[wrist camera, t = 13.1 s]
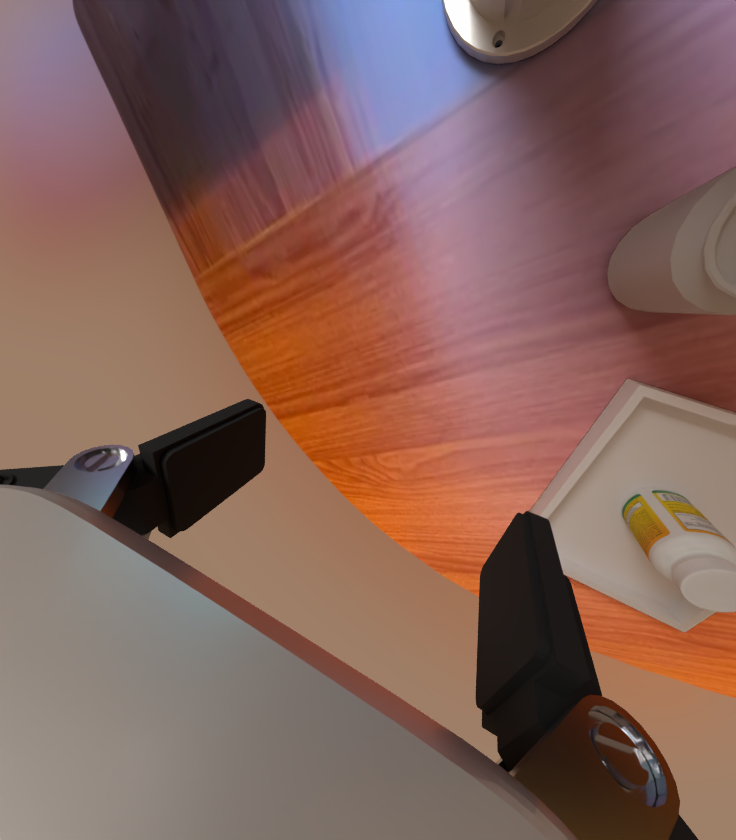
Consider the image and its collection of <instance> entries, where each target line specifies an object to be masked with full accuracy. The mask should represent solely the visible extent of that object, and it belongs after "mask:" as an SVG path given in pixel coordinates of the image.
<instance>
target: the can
mask: <svg viewBox="0 0 736 840" xmlns="http://www.w3.org/2000/svg"><path fill="white" fill-rule="evenodd" d="M607 278H608V285H609V289H610V291H611V292H612V294H613V295H614V297H615V299H616V300H617V301H618V302H620V303H622V304H623V305H625V306H626V307H628V308H630V309H634V310H639V311H643V312H660V313H683V314H707V315H736V166H735V167H733V168H732V169H730V170H728V171H726V172H725V173H723V174H721V175H719V176H717V177H716V178H714V179H712V180H710V181H709V182H707V183H705V184H703V185H701V186H700V187H698V188H696V189H694V190H693V191H691V192H689V193H687V194H685V195H684V196H682V197H680V198H678V199H676V200H675V201H673V202H671V203H669V204H668V205H666V206H664V207H662V208H660V209H659V210H657V211H655V212H653V213H652V214H650V215H649V216H647V217H646V218H645V219H643V220H642V221H640V222H639V223H638V224H636V225H635V226H633V227H632V229H631V230H630V231H629V232H628V233H627V234H626V235H625V236H624V237H623V238H622V240H621V241H620V242H619V243H618V245H617V247H616V249H615V251H614V253H613V254H612V256H611V258H610V262H609V267H608V272H607Z"/></svg>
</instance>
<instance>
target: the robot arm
mask: <svg viewBox="0 0 736 840" xmlns="http://www.w3.org/2000/svg"><path fill="white" fill-rule="evenodd" d="M596 2H597V0H442V3H443V8H444V14H445V17H446V20H447V23H448V26H449V28H450V31H451V33H452V34H453V36H454V38H455V39H456V41H457V43H458V44H459V45H460V46H461V47H462V48H463V49H464V50H465V51H466V52H467V53H468V54H469V55H470V56H472V57H474V58H476V59H478V60H480V61H482V62H488V63H494V64H503V63H512V62H516V61H519V60H522V59H525V58H528V57H531V56H533V55H535V54H537V53H538V52H540V51H542V50H544V49H545V48H547V47H549V46H551V45H552V44H553V43H555V42H556V41H557V40H558V39H560V38H561V37H562V36H563V35H565V34H566V33H567V32H569V31H570V30H571V29H572V28H573V27H574V26H575V25H576V24H577V23H578V22H579V21H580V20H581V19H582V18H583V17H584V16H585V15H586V14H587V13H588V12H589V11H590V9H591V8H592V7H593V5H594V4H595V3H596ZM498 45H501V46H500V47H498V48H496V47H497V46H498ZM265 430H266V411H265V410H264V407H263V405H262V404H260V403H257V402H255V401H252V400H250V399H246V400H243V401H241V402H239V403H236V404H234V405H232V406H229V407H227V408H225V409H222V410H220V411H218V412H215V413H213V414H211V415H208V416H206V417H204V418H201V419H199V420H197V421H194V422H192V423H190V424H187V425H185V426H182V427H180V428H178V429H176V430H173V431H171V432H168V433H166V434H164V435H161V436H159V437H157V438H154V439H152V440H150V441H147V442H145V443H143V444H140V445H138V446H139V450H140V454H138V455H136V456H134V453H133V450H132V449H130V448H129V447H126V446H121V445H104V446H99V447H94V448H91V449H88V450H85V451H82V452H80V453H78V454H76V455H75V456H73V457H72V458H71V459H70V460H69V461H68V462H67V463H66V464H65V465H62V466H48V467H34V468H20V469H6V470H0V840H698V839H697V837H696V836H695V835H694V833H693V832H692V831H691V829H690V828H689V827H688V826H687V825H686V823H685V822H684V820H683V819H682V818H681V817H680V815H679V806H680V800H679V795H678V790H677V786H676V782H675V780H674V778H673V775H672V773H671V771H670V768H669V766H668V764H667V762H666V760H665V759H664V757H663V755H662V754H661V752H660V750H659V749H658V747H657V745H656V744H655V742H654V741H653V740H652V739H651V737H650V736H649V735H648V734H647V732H646V731H645V730H644V728H643V727H642V726H641V725H640V724H639V723H638V722H637V721H636V720H635V719H634V718H633V717H632V716H631V715H630V714H629V713H628V712H627V711H626V710H624V709H623V708H622V707H620V706H619V705H617V704H616V703H615V702H613V701H611V700H609V699H607V698H605V697H602V693H601V690H600V686H599V682H598V679H597V675H596V672H595V668H594V664H593V661H592V657H591V654H590V650H589V647H588V643H587V639H586V636H585V632H584V629H583V625H582V622H581V618H580V614H579V611H578V607H577V604H576V600H575V596H574V593H573V589H572V586H571V583H570V581H569V579H568V578H567V577H566V576H565V575H564V574H563V570H562V566H561V563H560V559H559V555H558V551H557V547H556V544H555V540H554V536H553V532H552V528H551V525H550V522H549V520H548V519H546V518H544V517H541V516H539V515H536V514H534V513H531V512H529V511H526V512H525V513H524V514H521V513H517V514H516V516H515V517H514V519H513V520H512V522H511V523H510V525H509V527H508V528H507V530H506V531H505V533H504V534H503V536H502V538H501V539H500V541H499V542H498V544H497V545H496V547H495V548H494V550H493V552H492V553H491V555H490V556H489V558H488V559H487V561H486V563H485V564H484V566H483V568H482V571H481V575H480V593H479V622H478V648H477V676H476V705H477V707H478V708H480V709H481V710H482V727H483V728H484V729H486V730H488V731H489V732H491V733H492V734H494V735H496V736H497V737H498V738H497V742H498V753H499V755H500V756H501V758H500V759H499V760H498V761H497V762H496V763H495V762H493V761H492V760H491V759H489V758H488V757H487V756H485V755H484V754H482V753H481V752H480V751H478V750H477V749H476V748H474V747H473V746H471V745H470V744H468V743H467V742H466V741H464V740H463V739H462V738H460V737H458V736H457V735H456V734H454V733H453V732H451V731H449V730H448V729H446V728H445V727H443V726H442V725H440V724H439V723H437V722H436V721H434V720H433V719H431V718H430V717H428V716H427V715H425V714H424V713H422V712H421V711H419V710H417V709H416V708H415V707H413V706H411V705H410V704H408V703H407V702H405V701H404V700H402V699H401V698H399V697H398V696H396V695H395V694H393V693H392V692H390V691H388V690H387V689H385V688H384V687H382V686H381V685H379V684H378V683H376V682H374V681H373V680H371V679H370V678H368V677H367V676H365V675H363V674H362V673H360V672H358V671H357V670H355V669H354V668H352V667H351V666H349V665H348V664H346V663H344V662H343V661H341V660H339V659H338V658H336V657H335V656H333V655H332V654H330V653H329V652H327V651H325V650H324V649H322V648H321V647H319V646H318V645H316V644H314V643H313V642H311V641H310V640H308V639H306V638H305V637H303V636H302V635H300V634H298V633H297V632H295V631H294V630H292V629H291V628H289V627H287V626H286V625H284V624H283V623H281V622H279V621H278V620H276V619H275V618H273V617H271V616H270V615H268V614H266V613H265V612H263V611H262V610H260V609H259V608H257V607H255V606H254V605H252V604H251V603H249V602H247V601H246V600H244V599H243V598H241V597H239V596H238V595H236V594H235V593H233V592H231V591H230V590H228V589H227V588H225V587H223V586H221V585H220V584H219V583H217V582H215V581H214V580H212V579H211V578H209V577H207V576H206V575H204V574H202V573H201V572H199V571H198V570H196V569H194V568H193V567H191V566H190V565H188V564H186V563H185V562H183V561H182V560H180V559H178V558H177V557H175V556H173V555H172V554H170V553H168V552H167V551H165V550H164V549H162V548H160V547H159V546H157V545H156V544H154V543H152V542H151V541H149V540H148V539H149V536H150V533H151V531H152V530H153V529H154V528H155V527H157V526H158V530H159V531H160V532H161V533H163V534H165V535H166V536H168V537H169V538H171V537H173V536H174V535H176V534H177V533H178V532H180V531H184V530H186V529H188V528H189V527H191V526H192V525H193V524H194V523H196V522H197V521H198V520H200V519H201V518H202V517H203V516H204V515H206V514H207V513H209V512H210V511H211V510H212V509H214V508H215V507H216V506H217V505H219V504H220V503H222V502H223V501H224V500H225V499H227V498H228V497H229V496H231V495H232V494H233V493H234V492H236V491H237V490H238V489H239V488H241V487H242V486H244V485H245V484H246V483H247V482H249V481H250V480H251V479H253V478H254V477H255V476H256V475H258V474H259V473H260V472H261V471H262V470H263V468H264V465H265V433H266V431H265Z"/></svg>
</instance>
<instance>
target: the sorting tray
mask: <svg viewBox="0 0 736 840" xmlns="http://www.w3.org/2000/svg"><path fill="white" fill-rule="evenodd" d="M645 488H665V489H669V490H673V491H675V492H677V493H679V494H681V495H683V496H684V497H685V498H686V499H688V500H689V501H690V502H691V503H692V504H693V505H694V506H695V507H696V508H697V509H698V510H699V511H700V512H701V513H702V514H703V515H704V516H705V517H706V518H707V519H708V520H709V521H710V522H711V523H712V524H713V525H714V526H715V527H716V528H717V529H718V530H719V531H720V532H721V533H722V534H723V535H724V536H725V537H726V538H727V539H728V540H729V541H730V542H731V543H732V544H733V545H734V546H735V547H736V412H733V411H730V410H727V409H723V408H720V407H717V406H714V405H711V404H708V403H704V402H701V401H698V400H695V399H692V398H689V397H685V396H682V395H679V394H676V393H673V392H670V391H666V390H663V389H660V388H657V387H654V386H651V385H647V384H644V383H641V382H638V381H635V380H632V379H628V378H627V379H626V381H625V382H624V384H623V385H622V386H621V388H620V389H619V390H618V392H617V393H616V394H615V396H614V397H613V399H612V400H611V401H610V403H609V404H608V405H607V407H606V408H605V409H604V411H603V412H602V413H601V415H600V416H599V418H598V419H597V420H596V422H595V423H594V424H593V426H592V427H591V428H590V430H589V431H588V433H587V434H586V435H585V437H584V438H583V439H582V441H581V442H580V443H579V445H578V446H577V447H576V449H575V450H574V452H573V453H572V454H571V456H570V457H569V458H568V460H567V461H566V462H565V464H564V465H563V466H562V468H561V469H560V471H559V472H558V473H557V475H556V476H555V477H554V479H553V480H552V481H551V483H550V484H549V486H548V487H547V488H546V490H545V491H544V492H543V494H542V495H541V496H540V498H539V499H538V500H537V502H536V503H535V505H534V506H533V507H532V509H531V510H530V511H529V512H531V513H534V514H536V515H539V516H541V517H544V518H546V519H548V520H549V522H550V525H551V528H552V532H553V536H554V540H555V544H556V547H557V551H558V555H559V559H560V563H561V566H562V570H563V574H564V575H566V576H568V577H570V578H572V579H574V580H577V581H579V582H581V583H583V584H585V585H587V586H589V587H591V588H593V589H595V590H597V591H599V592H601V593H603V594H606V595H608V596H610V597H612V598H614V599H616V600H618V601H620V602H622V603H624V604H626V605H628V606H630V607H632V608H634V609H637V610H639V611H641V612H643V613H645V614H647V615H649V616H651V617H653V618H655V619H657V620H659V621H661V622H663V623H665V624H668V625H670V626H672V627H674V628H676V629H678V630H680V631H682V632H684V633H685V632H686V631H688V630H690V629H691V628H693V627H694V626H696V625H697V624H699V623H700V622H702V621H703V620H705V619H706V618H708V617H710V616H711V615H713V614H714V613H716V612H715V611H709V610H705V609H702V608H700V607H697V606H695V605H693V604H692V603H690V602H689V601H688V600H686V599H685V598H684V596H683V595H682V594H681V592H680V591H679V590H678V588H677V587H676V586H675V584H674V583H672V582H671V581H669V580H667V579H665V578H664V577H663V576H661V575H660V574H659V573H658V572H657V571H656V570H655V569H654V567H653V566H652V564H651V563H650V561H649V560H648V558H647V556H646V555H645V553H644V551H643V550H642V548H641V546H640V545H639V543H638V542H637V540H636V538H635V537H634V535H633V534H632V532H631V530H630V529H629V527H628V525H627V524H626V522H625V520H624V519H623V517H622V514H621V505H622V503H623V501H624V500H625V499H626V498H627V497H628V496H629V495H630V494H632V493H634V492H636V491H638V490H641V489H645Z"/></svg>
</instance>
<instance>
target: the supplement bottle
mask: <svg viewBox="0 0 736 840" xmlns="http://www.w3.org/2000/svg"><path fill="white" fill-rule="evenodd" d="M621 514H622V517H623V519H624V520H625V522H626V524H627V525H628V527H629V529H630V530H631V532H632V534H633V535H634V537H635V538H636V540H637V542H638V543H639V545H640V546H641V548H642V550H643V551H644V553H645V555H646V556H647V558H648V560H649V561H650V563H651V564H652V566H653V567H654V569H655V570H656V571H657V572H658V573H659V574H660V575H661V576H663V577H664V578H665V579H667V580H669V581H671V582H672V583H674V584H675V586H676V587H677V588H678V590H679V591H680V592H681V594H682V595H683V596H684V598H685V599H686V600H688V601H689V602H690V603H692V604H693V605H695V606H697V607H700V608H702V609H705V610H709V611H715V612H736V547H735V546H734V545H733V544H732V543H731V542H730V541H729V540H728V539H727V538H726V537H725V536H724V535H723V534H722V533H721V532H720V531H719V530H718V529H717V528H716V527H715V526H714V525H713V524H712V523H711V522H710V521H709V520H708V519H707V518H706V517H705V516H704V515H703V514H702V513H701V512H700V511H699V510H698V509H697V508H696V507H695V506H694V505H693V504H692V503H691V502H690V501H689V500H688V499H686V498H685V497H684V496H683V495H681V494H679V493H677V492H675V491H673V490H669V489H665V488H645V489H641V490H638V491H636V492H634V493H632V494H630V495H629V496H628V497H627V498H626V499H625V500H624V501H623V503H622V505H621Z"/></svg>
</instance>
